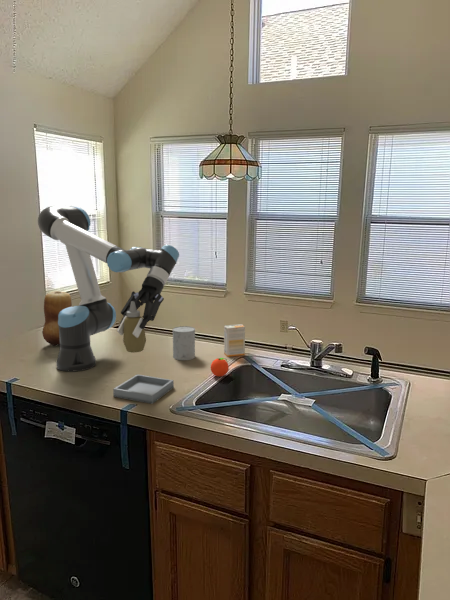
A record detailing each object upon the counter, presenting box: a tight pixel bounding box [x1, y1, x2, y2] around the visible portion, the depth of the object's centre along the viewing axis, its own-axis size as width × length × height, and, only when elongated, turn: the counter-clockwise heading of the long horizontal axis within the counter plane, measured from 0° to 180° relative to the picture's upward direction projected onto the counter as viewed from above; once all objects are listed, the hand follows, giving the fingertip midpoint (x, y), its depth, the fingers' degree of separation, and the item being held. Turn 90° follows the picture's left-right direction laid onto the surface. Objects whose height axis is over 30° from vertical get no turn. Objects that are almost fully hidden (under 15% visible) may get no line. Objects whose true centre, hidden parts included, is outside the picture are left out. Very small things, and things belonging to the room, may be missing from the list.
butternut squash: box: [41, 290, 73, 347], centre depth 211 cm, size 14×13×25 cm
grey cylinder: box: [172, 325, 196, 361], centre depth 197 cm, size 10×10×12 cm
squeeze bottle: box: [122, 301, 147, 354], centre depth 163 cm, size 8×8×18 cm
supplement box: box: [223, 323, 246, 358], centre depth 200 cm, size 8×5×13 cm, turn 108°
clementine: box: [210, 357, 230, 377], centre depth 176 cm, size 8×7×7 cm
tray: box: [112, 373, 175, 405], centre depth 160 cm, size 15×15×3 cm
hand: (127, 334), depth 160 cm, fingers closed on squeeze bottle, 6 cm apart
